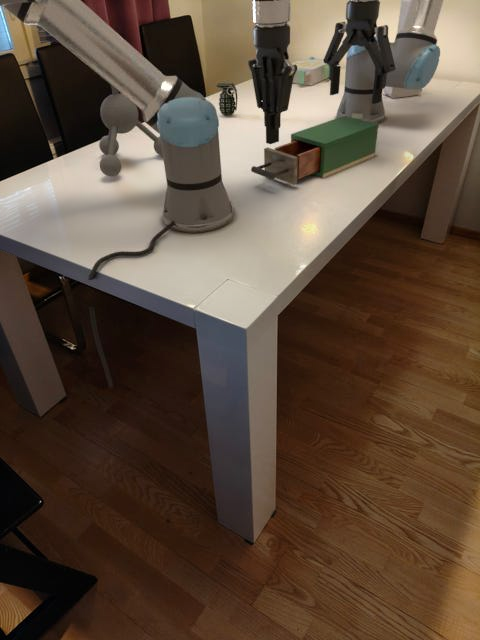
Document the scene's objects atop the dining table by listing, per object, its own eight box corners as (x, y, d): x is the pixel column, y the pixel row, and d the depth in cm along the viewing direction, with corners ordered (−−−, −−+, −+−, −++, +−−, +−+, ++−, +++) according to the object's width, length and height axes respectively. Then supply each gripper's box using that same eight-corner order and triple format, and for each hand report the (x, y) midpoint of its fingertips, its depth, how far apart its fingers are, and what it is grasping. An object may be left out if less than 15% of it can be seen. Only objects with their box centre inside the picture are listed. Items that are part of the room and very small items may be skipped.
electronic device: (391, 98, 176) (404, -1, 158) (381, 93, 182) (392, -2, 163) (421, 94, 178) (438, -4, 160) (410, 90, 184) (425, -5, 166)
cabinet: (323, 177, 122) (325, 143, 117) (290, 166, 129) (290, 134, 124) (374, 156, 132) (378, 123, 127) (341, 146, 139) (344, 115, 134)
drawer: (276, 192, 114) (276, 165, 110) (247, 180, 120) (246, 154, 116) (346, 163, 126) (348, 137, 122) (316, 153, 133) (318, 129, 129)
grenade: (217, 117, 168) (214, 86, 162) (221, 112, 172) (219, 82, 166) (235, 117, 166) (233, 86, 160) (239, 113, 171) (238, 82, 165)
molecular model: (186, 167, 131) (171, 41, 113) (104, 183, 125) (74, 52, 107) (164, 142, 149) (148, 29, 130) (91, 155, 143) (64, 38, 125)
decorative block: (302, 55, 216) (343, 58, 206) (301, 71, 220) (342, 74, 210) (270, 66, 200) (313, 70, 190) (270, 83, 204) (313, 88, 194)
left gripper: (308, 24, 96) (304, 144, 111) (263, 20, 104) (265, 132, 119) (280, 29, 93) (280, 152, 107) (236, 24, 101) (242, 140, 115)
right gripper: (420, -1, 106) (404, 103, 119) (332, -4, 121) (327, 88, 134) (399, 3, 102) (386, 109, 115) (312, -1, 118) (308, 93, 131)
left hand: (272, 142), depth 113 cm, fingers closed
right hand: (354, 98), depth 125 cm, fingers open, 13 cm apart
